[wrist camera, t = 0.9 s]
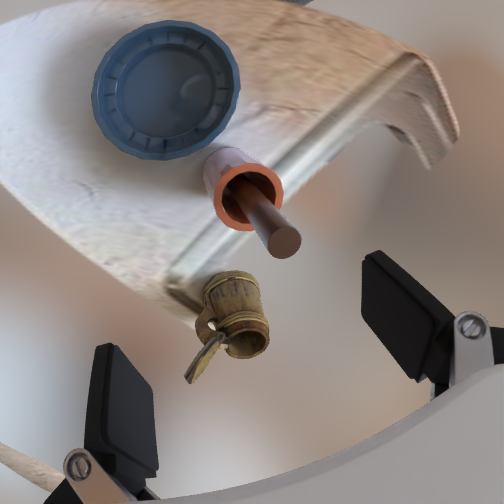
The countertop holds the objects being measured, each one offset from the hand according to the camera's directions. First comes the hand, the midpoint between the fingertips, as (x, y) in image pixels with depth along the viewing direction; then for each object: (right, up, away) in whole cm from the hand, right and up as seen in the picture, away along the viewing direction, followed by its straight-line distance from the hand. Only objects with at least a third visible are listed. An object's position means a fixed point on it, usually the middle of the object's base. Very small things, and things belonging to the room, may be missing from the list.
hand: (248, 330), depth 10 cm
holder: (-3, +13, +27) cm, 30 cm away
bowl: (-10, +22, +20) cm, 31 cm away
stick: (-3, +13, +26) cm, 29 cm away
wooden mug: (-5, -3, +35) cm, 36 cm away
